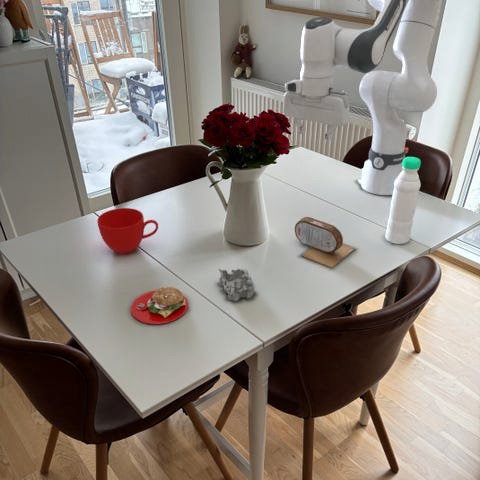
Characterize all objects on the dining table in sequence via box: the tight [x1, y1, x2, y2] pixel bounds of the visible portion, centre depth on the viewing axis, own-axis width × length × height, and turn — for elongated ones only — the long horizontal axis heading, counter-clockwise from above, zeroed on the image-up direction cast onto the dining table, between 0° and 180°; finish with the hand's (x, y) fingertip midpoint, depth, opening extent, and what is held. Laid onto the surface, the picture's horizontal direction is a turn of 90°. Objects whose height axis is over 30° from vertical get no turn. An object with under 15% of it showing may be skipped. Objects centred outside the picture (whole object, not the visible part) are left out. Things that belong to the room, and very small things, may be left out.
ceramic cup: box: [96, 207, 159, 255], centre depth 146 cm, size 13×17×10 cm
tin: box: [294, 216, 344, 253], centre depth 144 cm, size 15×3×8 cm, turn 50°
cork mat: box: [301, 243, 356, 269], centre depth 145 cm, size 13×10×1 cm
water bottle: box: [384, 156, 422, 245], centre depth 144 cm, size 7×7×25 cm
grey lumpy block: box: [218, 268, 256, 302], centre depth 129 cm, size 11×8×4 cm
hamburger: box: [130, 286, 189, 325], centre depth 123 cm, size 14×14×6 cm
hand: (314, 136), depth 144 cm, fingers open, 8 cm apart
